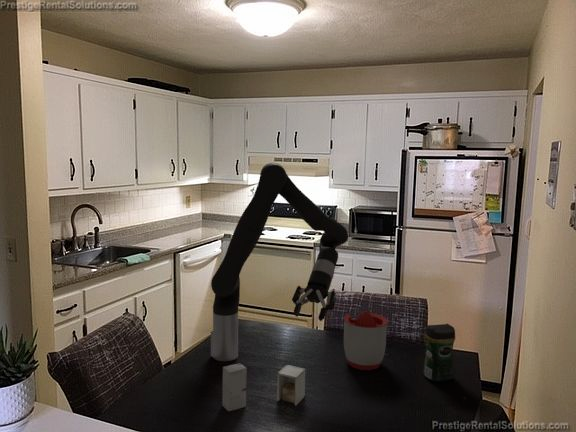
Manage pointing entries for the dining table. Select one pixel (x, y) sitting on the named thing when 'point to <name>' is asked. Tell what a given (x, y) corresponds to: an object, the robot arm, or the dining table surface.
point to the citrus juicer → (365, 340)
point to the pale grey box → (291, 381)
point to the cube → (289, 392)
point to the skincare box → (234, 387)
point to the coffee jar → (439, 352)
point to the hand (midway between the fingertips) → (307, 317)
